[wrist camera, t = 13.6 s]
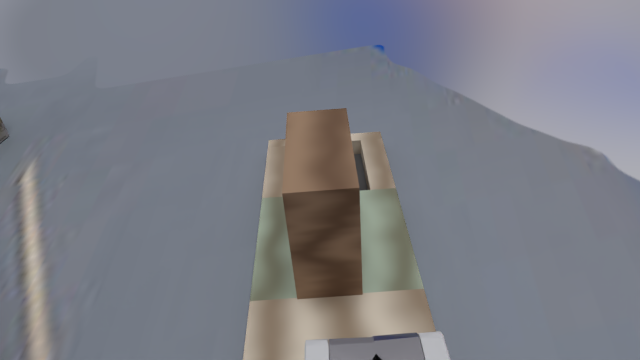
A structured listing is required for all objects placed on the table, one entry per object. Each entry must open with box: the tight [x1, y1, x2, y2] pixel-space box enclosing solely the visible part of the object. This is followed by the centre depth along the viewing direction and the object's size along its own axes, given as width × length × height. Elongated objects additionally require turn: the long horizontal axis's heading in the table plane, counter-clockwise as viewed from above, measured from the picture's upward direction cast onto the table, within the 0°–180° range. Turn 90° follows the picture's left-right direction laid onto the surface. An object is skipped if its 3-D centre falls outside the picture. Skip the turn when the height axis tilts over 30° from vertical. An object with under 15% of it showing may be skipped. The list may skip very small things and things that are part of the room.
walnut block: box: [282, 108, 363, 299], centre depth 46 cm, size 6×14×12 cm, turn 2°
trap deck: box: [243, 132, 436, 360], centre depth 44 cm, size 16×62×2 cm, turn 2°
